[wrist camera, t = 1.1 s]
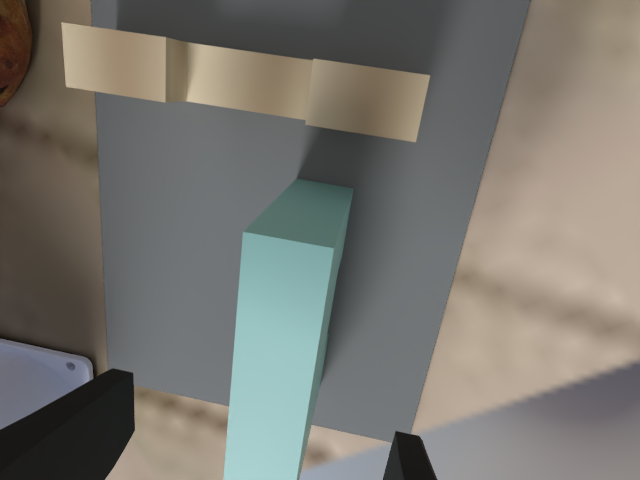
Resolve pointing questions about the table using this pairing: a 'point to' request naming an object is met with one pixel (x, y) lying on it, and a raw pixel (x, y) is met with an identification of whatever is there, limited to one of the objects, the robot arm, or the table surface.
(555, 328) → the table surface
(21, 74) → the bread roll
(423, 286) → the mat
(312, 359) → the teal board
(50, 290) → the table surface
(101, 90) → the birch u-shaped block
